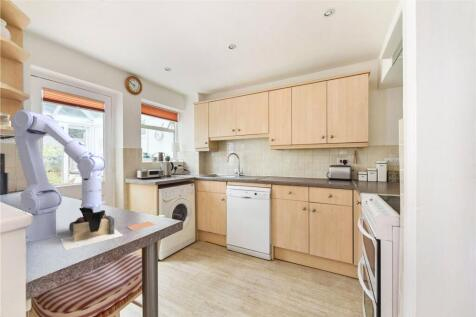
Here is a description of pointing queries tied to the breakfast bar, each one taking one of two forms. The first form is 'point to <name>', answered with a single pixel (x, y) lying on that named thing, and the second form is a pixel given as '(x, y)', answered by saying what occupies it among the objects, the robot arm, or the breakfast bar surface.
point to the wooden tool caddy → (83, 232)
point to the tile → (140, 225)
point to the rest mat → (87, 240)
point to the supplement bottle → (80, 220)
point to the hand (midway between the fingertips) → (91, 228)
